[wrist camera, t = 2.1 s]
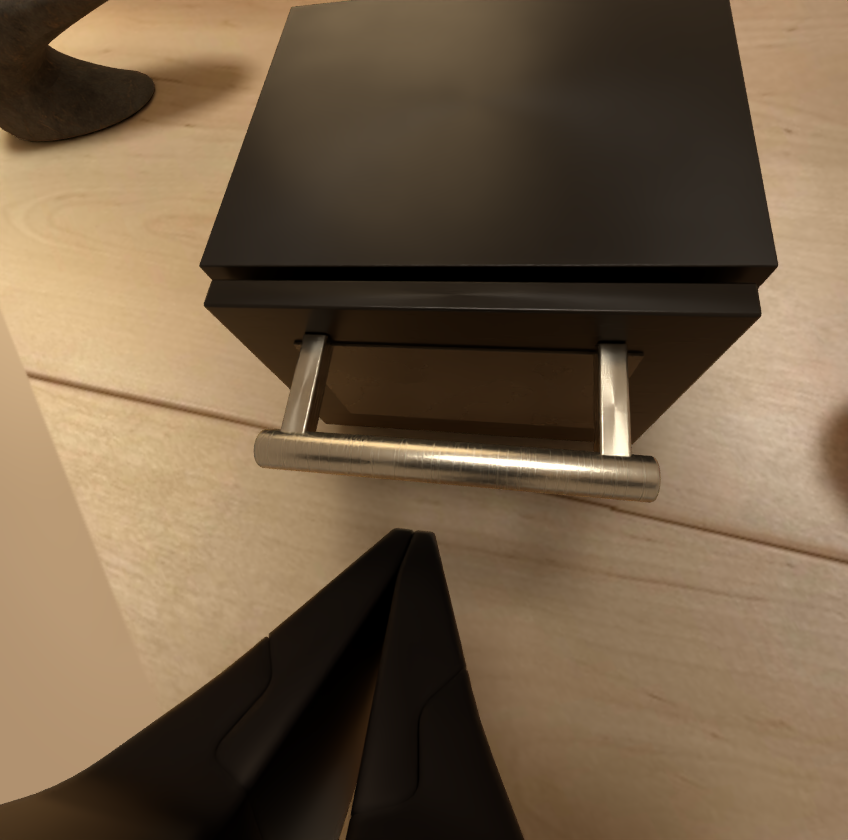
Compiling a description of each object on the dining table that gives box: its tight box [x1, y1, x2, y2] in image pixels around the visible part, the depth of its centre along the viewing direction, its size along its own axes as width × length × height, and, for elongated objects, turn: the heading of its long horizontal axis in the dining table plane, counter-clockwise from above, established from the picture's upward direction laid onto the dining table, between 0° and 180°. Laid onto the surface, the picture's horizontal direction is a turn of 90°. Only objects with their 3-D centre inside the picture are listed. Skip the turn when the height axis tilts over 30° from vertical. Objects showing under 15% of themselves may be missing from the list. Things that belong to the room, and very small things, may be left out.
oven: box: [199, 0, 778, 288], centre depth 20 cm, size 13×16×13 cm
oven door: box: [204, 280, 761, 503], centre depth 16 cm, size 5×15×11 cm, turn 83°
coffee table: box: [0, 0, 154, 141], centre depth 36 cm, size 25×9×9 cm, turn 94°
